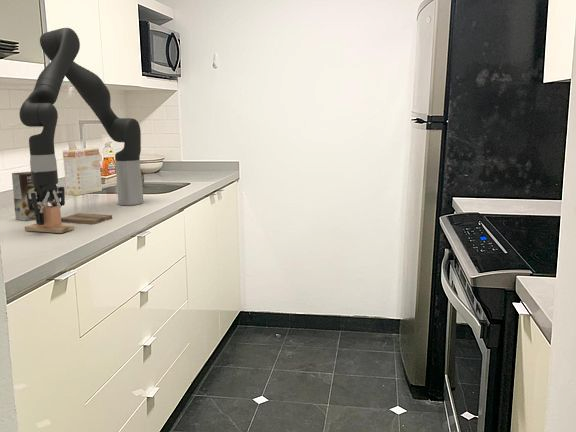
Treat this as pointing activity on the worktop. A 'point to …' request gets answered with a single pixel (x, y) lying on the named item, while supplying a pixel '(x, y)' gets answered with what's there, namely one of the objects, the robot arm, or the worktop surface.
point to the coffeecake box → (82, 171)
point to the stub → (50, 221)
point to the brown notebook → (86, 218)
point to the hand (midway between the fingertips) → (48, 222)
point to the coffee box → (22, 195)
